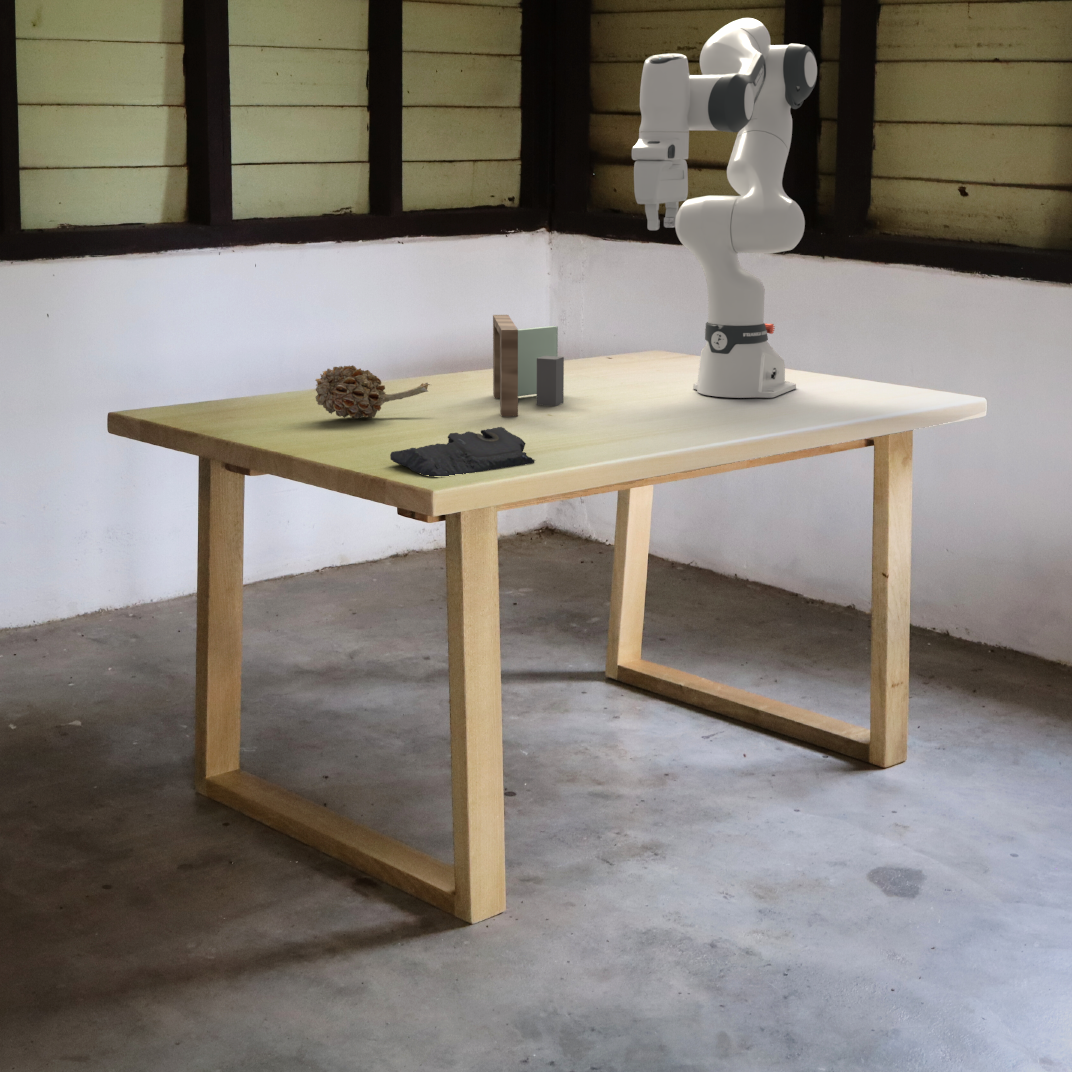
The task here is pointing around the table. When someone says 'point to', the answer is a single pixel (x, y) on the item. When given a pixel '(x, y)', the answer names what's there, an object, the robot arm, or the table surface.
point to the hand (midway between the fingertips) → (661, 228)
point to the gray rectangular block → (550, 380)
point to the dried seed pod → (356, 392)
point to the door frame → (505, 364)
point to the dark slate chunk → (466, 454)
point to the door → (534, 355)
